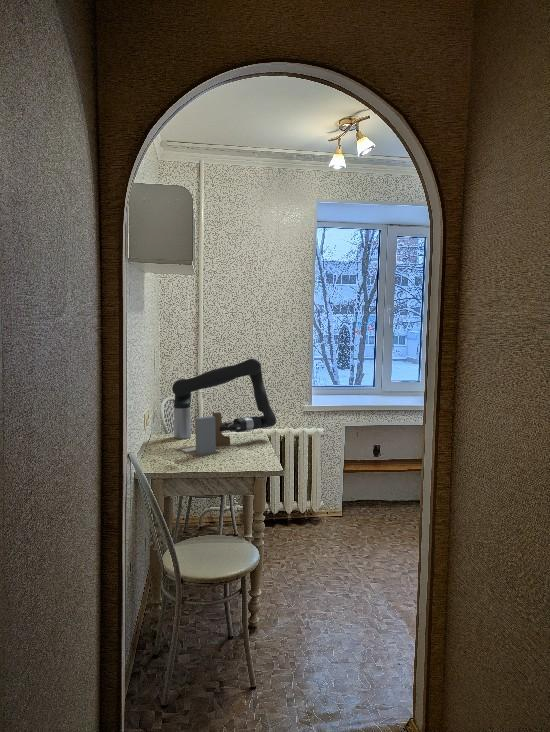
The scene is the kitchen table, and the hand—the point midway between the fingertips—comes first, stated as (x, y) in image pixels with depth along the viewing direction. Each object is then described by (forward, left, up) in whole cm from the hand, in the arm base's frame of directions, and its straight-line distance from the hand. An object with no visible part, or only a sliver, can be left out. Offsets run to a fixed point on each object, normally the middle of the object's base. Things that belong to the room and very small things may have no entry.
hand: (217, 428), depth 302 cm
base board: (+5, -15, -10) cm, 18 cm away
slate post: (+12, -15, -9) cm, 21 cm away
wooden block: (0, +2, -10) cm, 10 cm away
